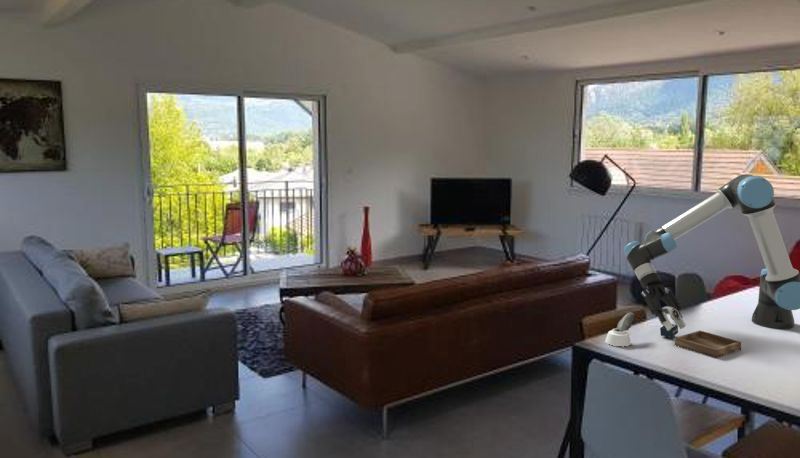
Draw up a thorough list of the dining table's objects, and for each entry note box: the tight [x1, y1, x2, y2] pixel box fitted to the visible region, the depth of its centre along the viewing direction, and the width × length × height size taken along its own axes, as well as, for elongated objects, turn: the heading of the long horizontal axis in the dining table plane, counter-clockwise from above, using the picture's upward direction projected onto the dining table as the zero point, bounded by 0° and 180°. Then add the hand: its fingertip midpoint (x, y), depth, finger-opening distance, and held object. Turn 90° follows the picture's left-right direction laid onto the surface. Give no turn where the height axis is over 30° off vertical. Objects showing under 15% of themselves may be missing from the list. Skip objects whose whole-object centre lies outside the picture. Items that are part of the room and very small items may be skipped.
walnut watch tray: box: [674, 329, 743, 359], centre depth 229 cm, size 16×16×3 cm
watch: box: [657, 305, 681, 338], centre depth 240 cm, size 6×8×11 cm
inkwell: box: [604, 311, 635, 348], centre depth 237 cm, size 9×18×10 cm, turn 139°
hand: (676, 328), depth 237 cm, fingers closed on watch, 6 cm apart
